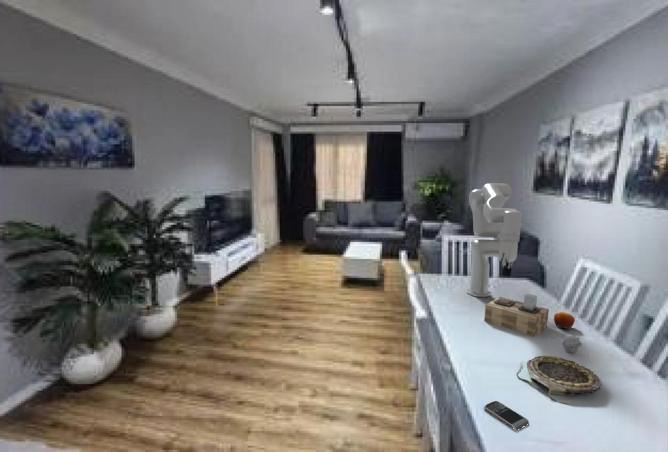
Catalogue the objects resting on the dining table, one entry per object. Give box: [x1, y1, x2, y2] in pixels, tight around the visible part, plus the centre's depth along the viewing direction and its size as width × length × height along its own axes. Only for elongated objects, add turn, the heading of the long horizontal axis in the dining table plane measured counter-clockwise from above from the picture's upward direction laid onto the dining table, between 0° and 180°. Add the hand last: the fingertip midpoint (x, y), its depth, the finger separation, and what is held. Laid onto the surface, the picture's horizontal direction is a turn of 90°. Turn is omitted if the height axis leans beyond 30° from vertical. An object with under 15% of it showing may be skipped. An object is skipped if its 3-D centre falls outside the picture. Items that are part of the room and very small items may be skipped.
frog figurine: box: [561, 335, 583, 354], centre depth 143 cm, size 6×7×7 cm
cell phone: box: [483, 400, 530, 431], centre depth 105 cm, size 6×11×1 cm, turn 30°
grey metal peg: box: [523, 293, 538, 311], centre depth 165 cm, size 4×4×9 cm
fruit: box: [553, 311, 576, 331], centre depth 166 cm, size 8×8×8 cm
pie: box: [516, 355, 602, 404], centre depth 123 cm, size 28×27×5 cm
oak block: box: [483, 296, 549, 337], centre depth 170 cm, size 16×22×9 cm
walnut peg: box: [499, 299, 511, 304], centre depth 174 cm, size 4×4×9 cm
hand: (506, 275), depth 172 cm, fingers closed
